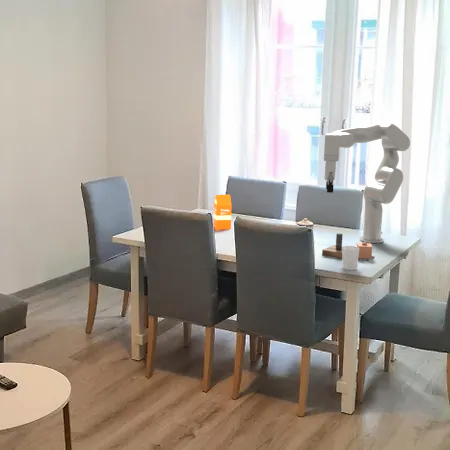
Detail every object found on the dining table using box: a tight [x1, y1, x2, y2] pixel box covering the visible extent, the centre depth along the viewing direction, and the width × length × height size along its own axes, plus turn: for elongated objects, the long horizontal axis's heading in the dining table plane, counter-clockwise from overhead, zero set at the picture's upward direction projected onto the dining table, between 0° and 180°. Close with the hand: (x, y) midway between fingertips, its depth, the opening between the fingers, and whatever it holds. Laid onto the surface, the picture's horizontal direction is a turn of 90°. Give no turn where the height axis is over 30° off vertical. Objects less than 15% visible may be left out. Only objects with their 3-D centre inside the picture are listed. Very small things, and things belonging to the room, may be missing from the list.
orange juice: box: [213, 194, 233, 231], centre depth 401 cm, size 8×9×20 cm
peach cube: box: [356, 241, 373, 260], centre depth 346 cm, size 7×7×7 cm
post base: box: [321, 233, 343, 260], centre depth 349 cm, size 12×12×11 cm
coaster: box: [358, 255, 375, 261], centre depth 346 cm, size 8×8×1 cm
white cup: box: [341, 245, 359, 271], centre depth 326 cm, size 8×8×10 cm
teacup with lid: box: [296, 217, 314, 230], centre depth 382 cm, size 12×9×12 cm
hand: (329, 190), depth 358 cm, fingers open, 9 cm apart
